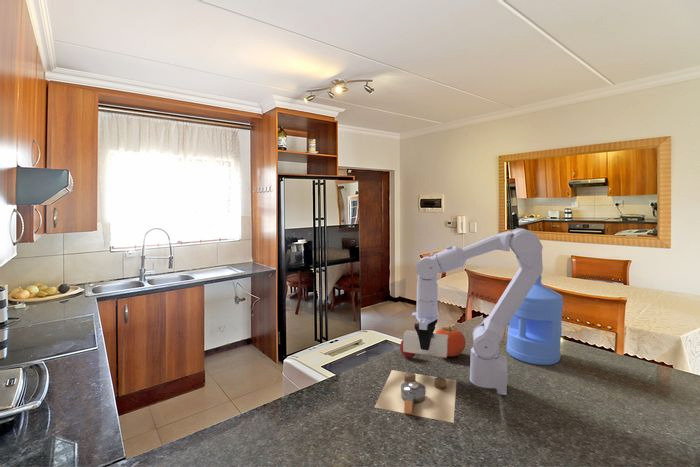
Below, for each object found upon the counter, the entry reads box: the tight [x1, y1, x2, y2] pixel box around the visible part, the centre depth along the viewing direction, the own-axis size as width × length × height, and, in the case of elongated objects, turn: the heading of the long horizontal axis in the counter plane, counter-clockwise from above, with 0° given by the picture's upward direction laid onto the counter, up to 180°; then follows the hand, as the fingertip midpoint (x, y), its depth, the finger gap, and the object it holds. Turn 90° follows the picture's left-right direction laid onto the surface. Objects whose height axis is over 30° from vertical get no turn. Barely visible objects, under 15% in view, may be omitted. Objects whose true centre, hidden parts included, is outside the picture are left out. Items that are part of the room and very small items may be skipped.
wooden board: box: [374, 369, 457, 424], centre depth 89 cm, size 18×20×3 cm
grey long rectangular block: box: [402, 329, 448, 359], centre depth 99 cm, size 12×4×5 cm, turn 70°
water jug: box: [506, 274, 564, 366], centre depth 114 cm, size 16×16×28 cm
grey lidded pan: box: [401, 381, 426, 416], centre depth 85 cm, size 11×6×3 cm, turn 161°
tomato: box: [435, 325, 467, 357], centre depth 114 cm, size 10×10×10 cm
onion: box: [399, 339, 417, 359], centre depth 111 cm, size 6×6×8 cm
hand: (425, 346), depth 99 cm, fingers closed on grey long rectangular block, 4 cm apart
